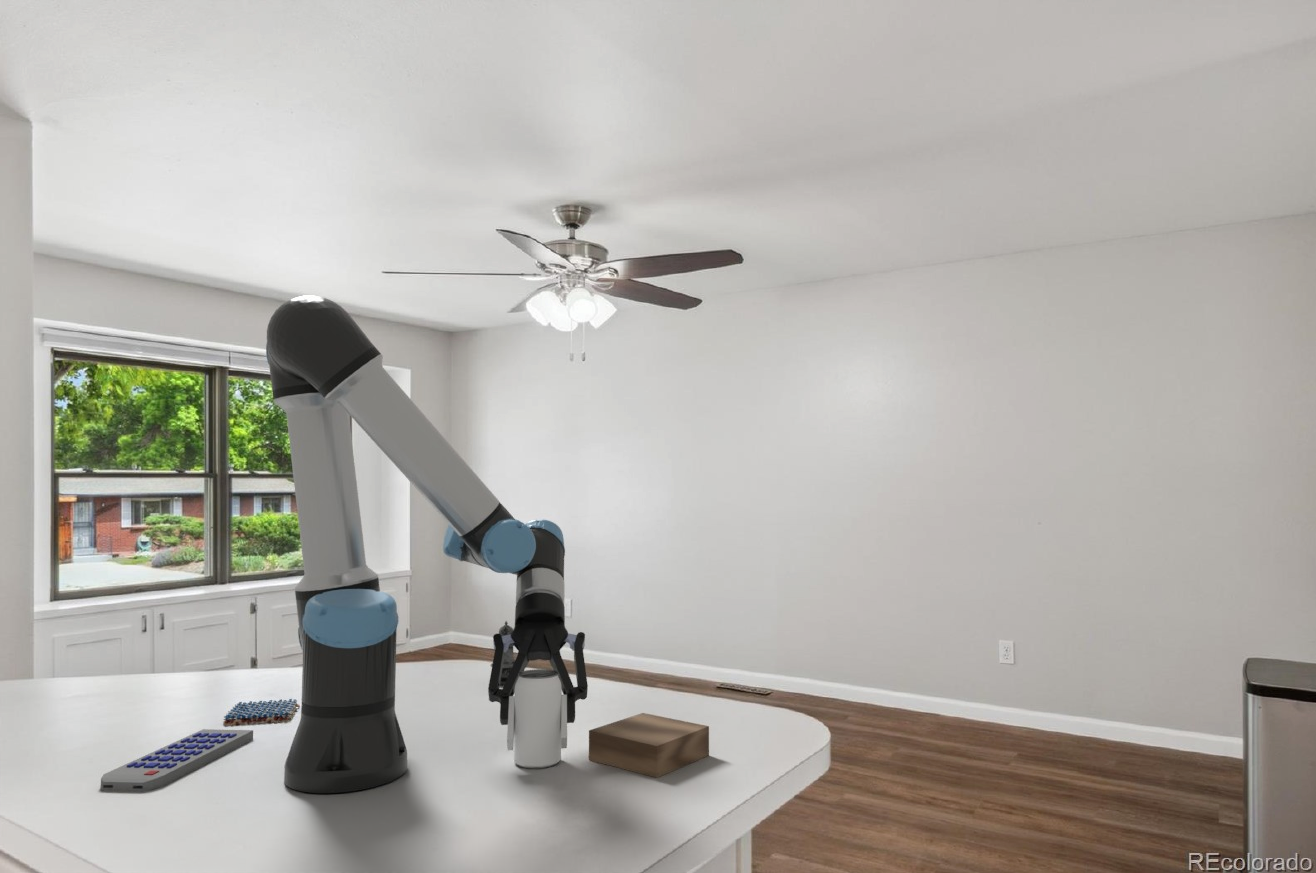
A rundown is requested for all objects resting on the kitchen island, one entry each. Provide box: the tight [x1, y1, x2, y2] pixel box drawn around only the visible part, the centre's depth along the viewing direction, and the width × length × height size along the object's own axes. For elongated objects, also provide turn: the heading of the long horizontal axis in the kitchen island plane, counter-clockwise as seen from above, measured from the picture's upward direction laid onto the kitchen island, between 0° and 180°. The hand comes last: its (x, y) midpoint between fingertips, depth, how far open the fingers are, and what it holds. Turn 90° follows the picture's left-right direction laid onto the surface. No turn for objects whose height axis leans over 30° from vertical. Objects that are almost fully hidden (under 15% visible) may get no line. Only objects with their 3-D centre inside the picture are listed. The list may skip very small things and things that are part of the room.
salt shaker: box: [490, 620, 516, 687], centre depth 164 cm, size 6×6×12 cm
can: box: [513, 668, 563, 770], centre depth 115 cm, size 6×6×12 cm
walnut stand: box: [588, 712, 710, 778], centre depth 117 cm, size 12×12×4 cm
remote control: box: [100, 728, 254, 792], centre depth 114 cm, size 8×23×2 cm, turn 176°
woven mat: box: [222, 698, 301, 727], centre depth 139 cm, size 10×11×2 cm
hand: (537, 743), depth 111 cm, fingers closed on can, 6 cm apart
